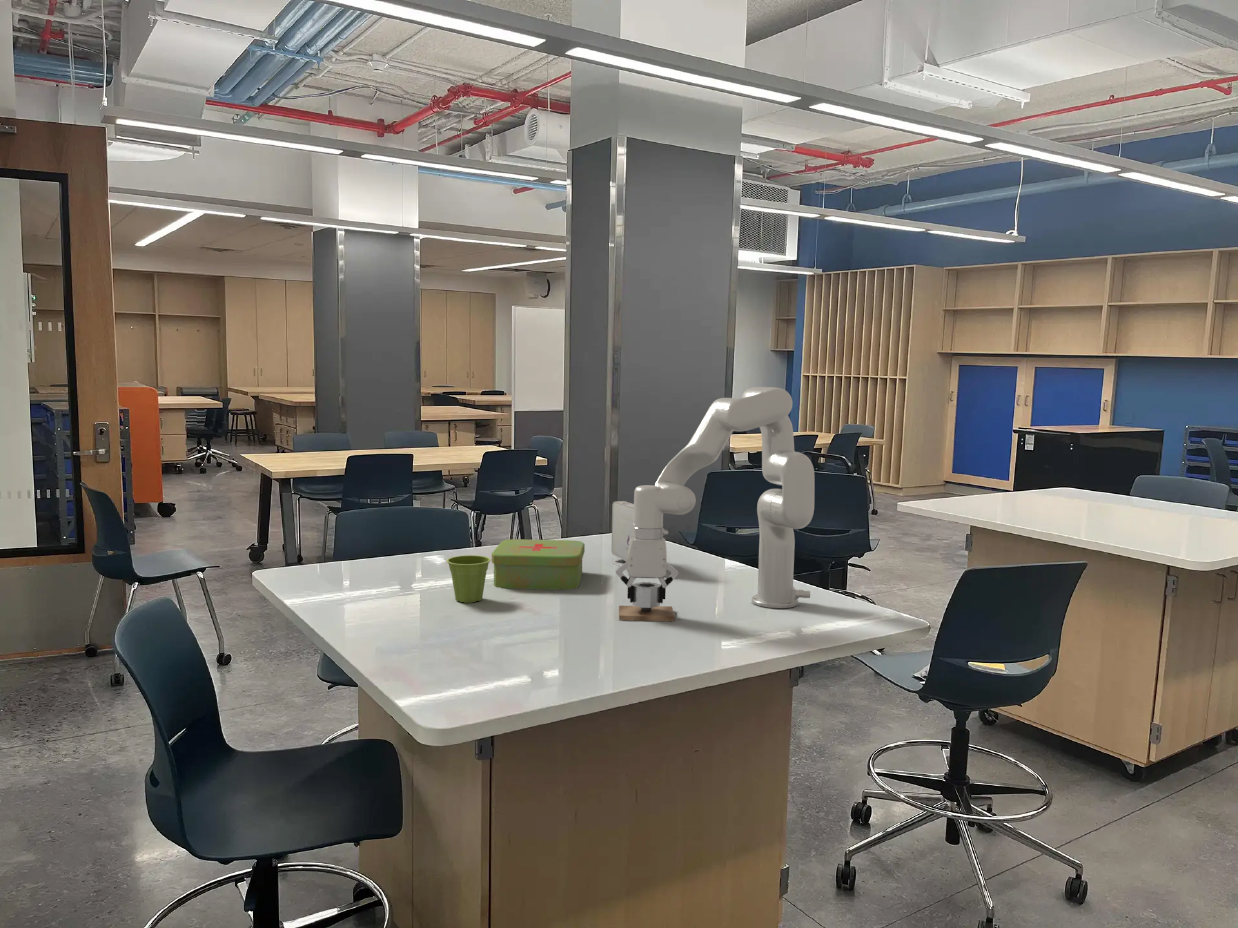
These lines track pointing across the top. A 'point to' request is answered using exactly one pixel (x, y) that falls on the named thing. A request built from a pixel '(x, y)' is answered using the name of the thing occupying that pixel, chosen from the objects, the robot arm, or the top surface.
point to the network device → (621, 530)
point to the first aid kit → (538, 564)
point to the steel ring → (646, 594)
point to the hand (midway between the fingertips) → (646, 601)
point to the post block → (646, 613)
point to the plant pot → (468, 576)
